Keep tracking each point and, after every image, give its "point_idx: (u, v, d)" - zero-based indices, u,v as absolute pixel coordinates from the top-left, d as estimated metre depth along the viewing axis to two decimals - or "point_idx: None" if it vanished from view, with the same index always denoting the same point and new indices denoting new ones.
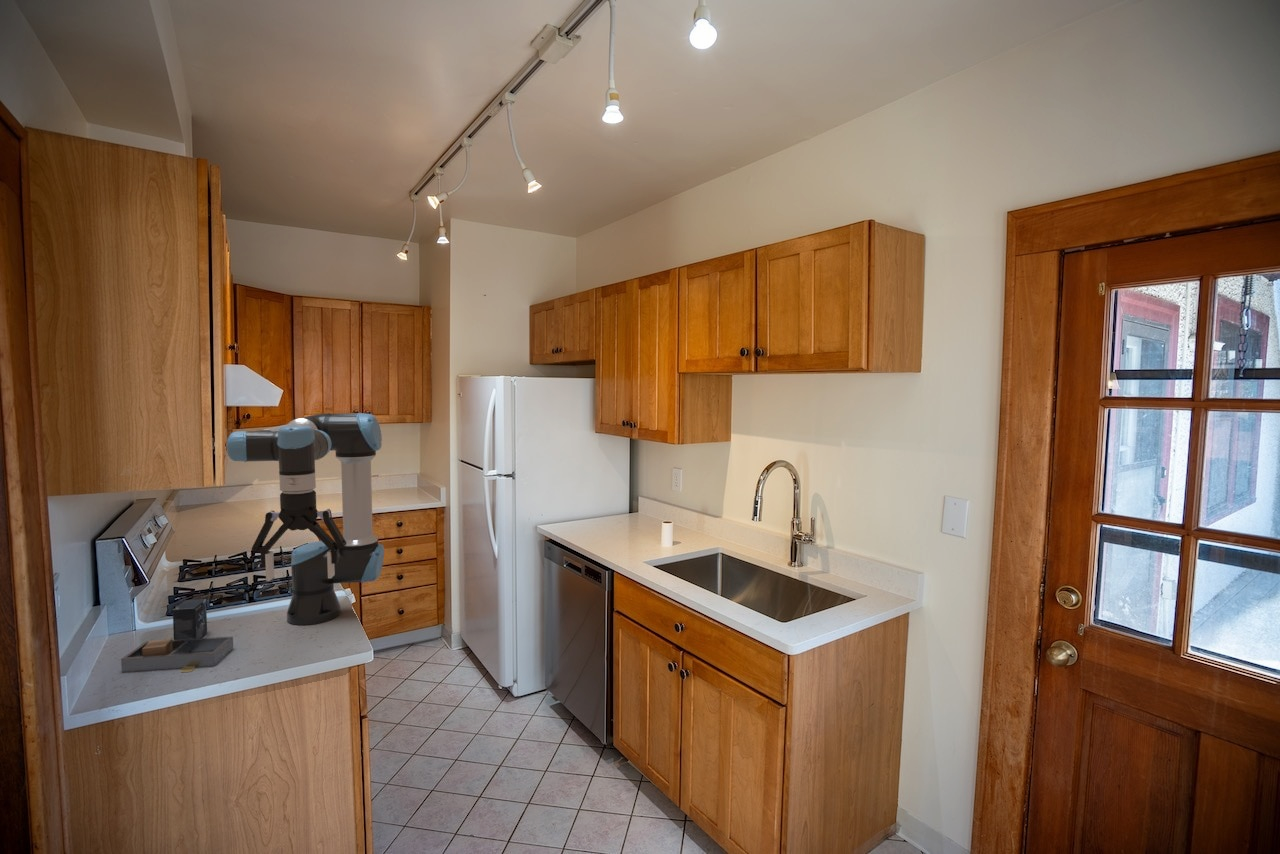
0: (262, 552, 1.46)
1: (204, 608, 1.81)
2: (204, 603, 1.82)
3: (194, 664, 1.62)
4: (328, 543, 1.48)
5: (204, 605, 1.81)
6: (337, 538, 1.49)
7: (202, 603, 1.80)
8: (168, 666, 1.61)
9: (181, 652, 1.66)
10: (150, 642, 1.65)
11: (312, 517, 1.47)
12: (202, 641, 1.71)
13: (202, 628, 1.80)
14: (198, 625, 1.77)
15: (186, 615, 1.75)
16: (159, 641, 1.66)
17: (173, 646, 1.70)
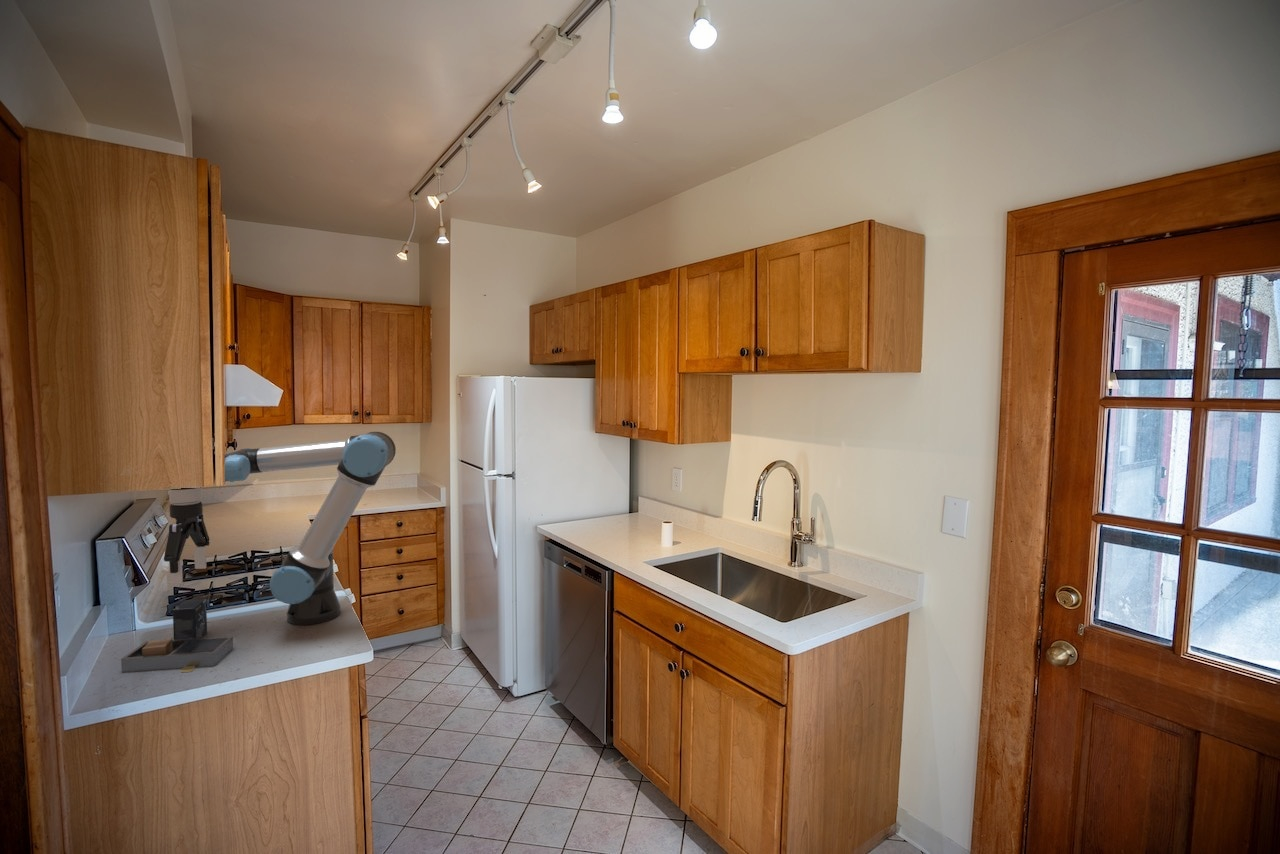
0: None
1: (204, 608, 1.81)
2: (204, 603, 1.82)
3: (194, 664, 1.62)
4: None
5: (204, 605, 1.81)
6: None
7: (202, 603, 1.80)
8: (168, 666, 1.61)
9: (181, 652, 1.66)
10: (150, 642, 1.65)
11: None
12: (202, 641, 1.71)
13: (202, 628, 1.80)
14: (198, 625, 1.77)
15: (186, 615, 1.75)
16: (159, 641, 1.66)
17: (173, 646, 1.70)
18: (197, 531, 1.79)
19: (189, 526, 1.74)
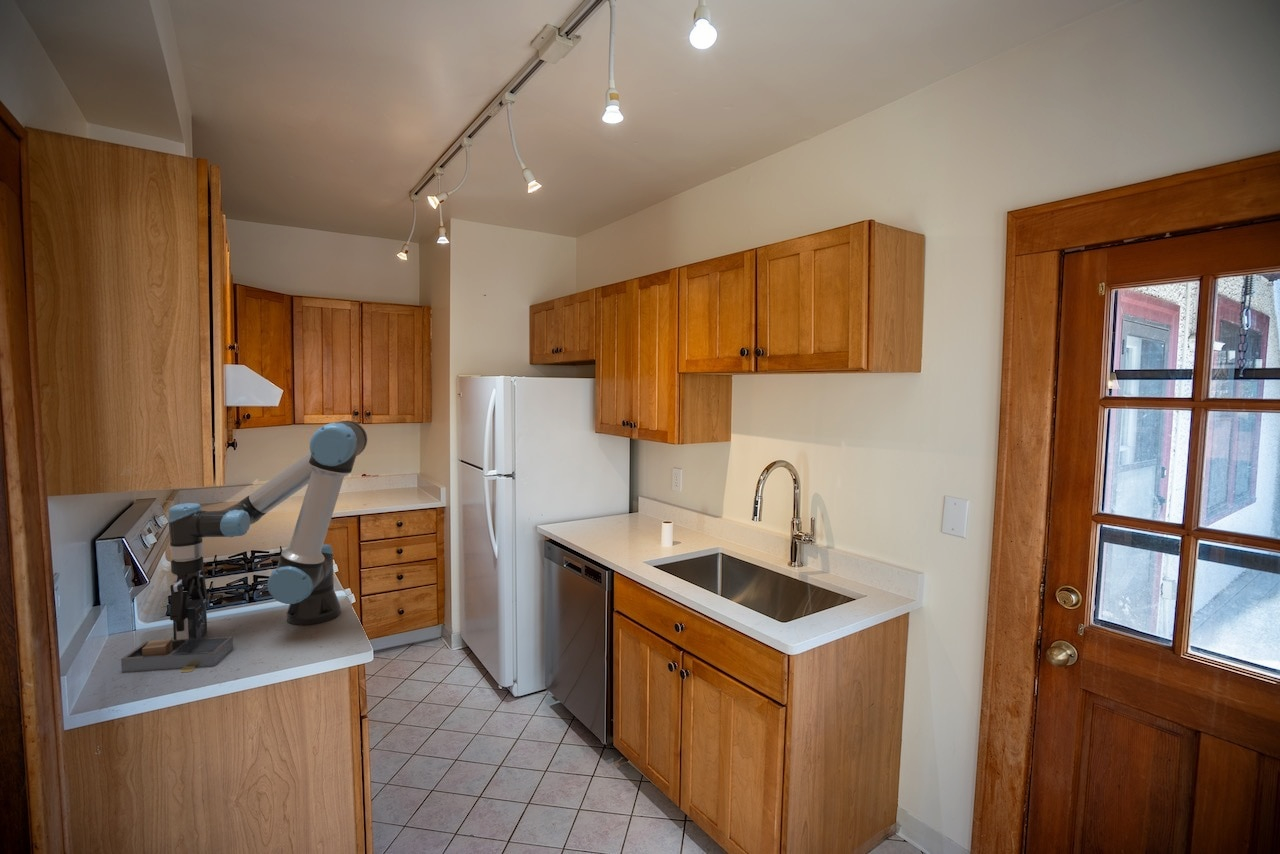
0: None
1: (204, 608, 1.81)
2: (204, 603, 1.81)
3: (194, 664, 1.62)
4: None
5: (204, 605, 1.81)
6: None
7: (202, 603, 1.80)
8: (168, 666, 1.61)
9: (181, 652, 1.66)
10: (150, 642, 1.65)
11: None
12: (202, 641, 1.71)
13: (202, 628, 1.80)
14: (198, 625, 1.77)
15: (186, 615, 1.75)
16: (159, 641, 1.66)
17: (173, 646, 1.70)
18: (197, 587, 1.80)
19: (190, 582, 1.76)
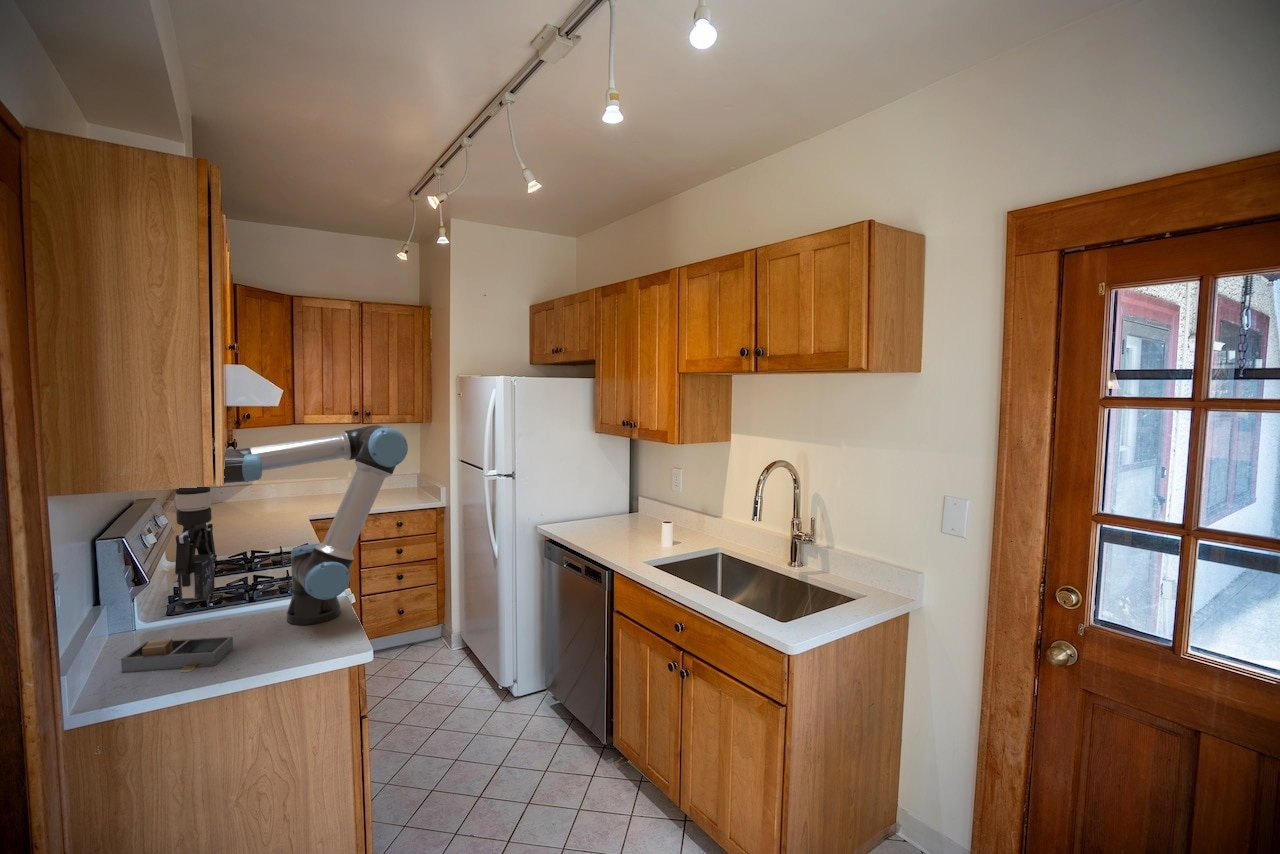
0: None
1: (211, 564, 1.68)
2: (211, 558, 1.68)
3: (194, 664, 1.62)
4: None
5: (211, 560, 1.68)
6: None
7: (209, 558, 1.67)
8: (168, 666, 1.61)
9: (181, 652, 1.66)
10: (150, 642, 1.65)
11: None
12: (202, 641, 1.71)
13: (209, 585, 1.66)
14: (205, 581, 1.64)
15: (192, 569, 1.61)
16: (159, 641, 1.66)
17: (173, 646, 1.70)
18: (204, 540, 1.67)
19: (196, 534, 1.63)
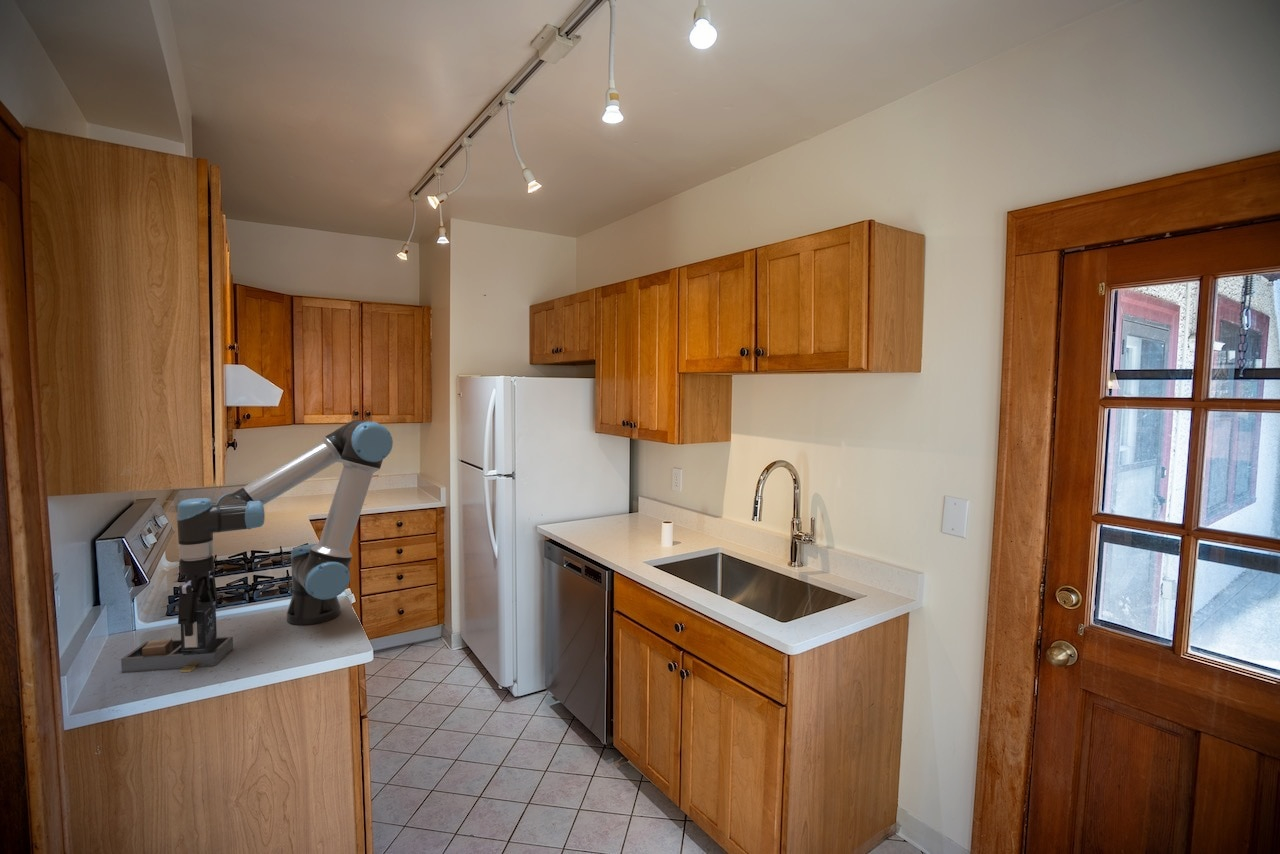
0: None
1: (214, 611, 1.69)
2: (214, 606, 1.69)
3: (194, 664, 1.62)
4: None
5: (213, 608, 1.69)
6: None
7: (212, 606, 1.68)
8: (168, 666, 1.61)
9: (181, 652, 1.66)
10: (150, 642, 1.65)
11: None
12: None
13: (211, 633, 1.68)
14: (207, 629, 1.65)
15: (195, 618, 1.62)
16: (159, 641, 1.66)
17: (173, 646, 1.70)
18: (207, 588, 1.68)
19: (199, 583, 1.64)
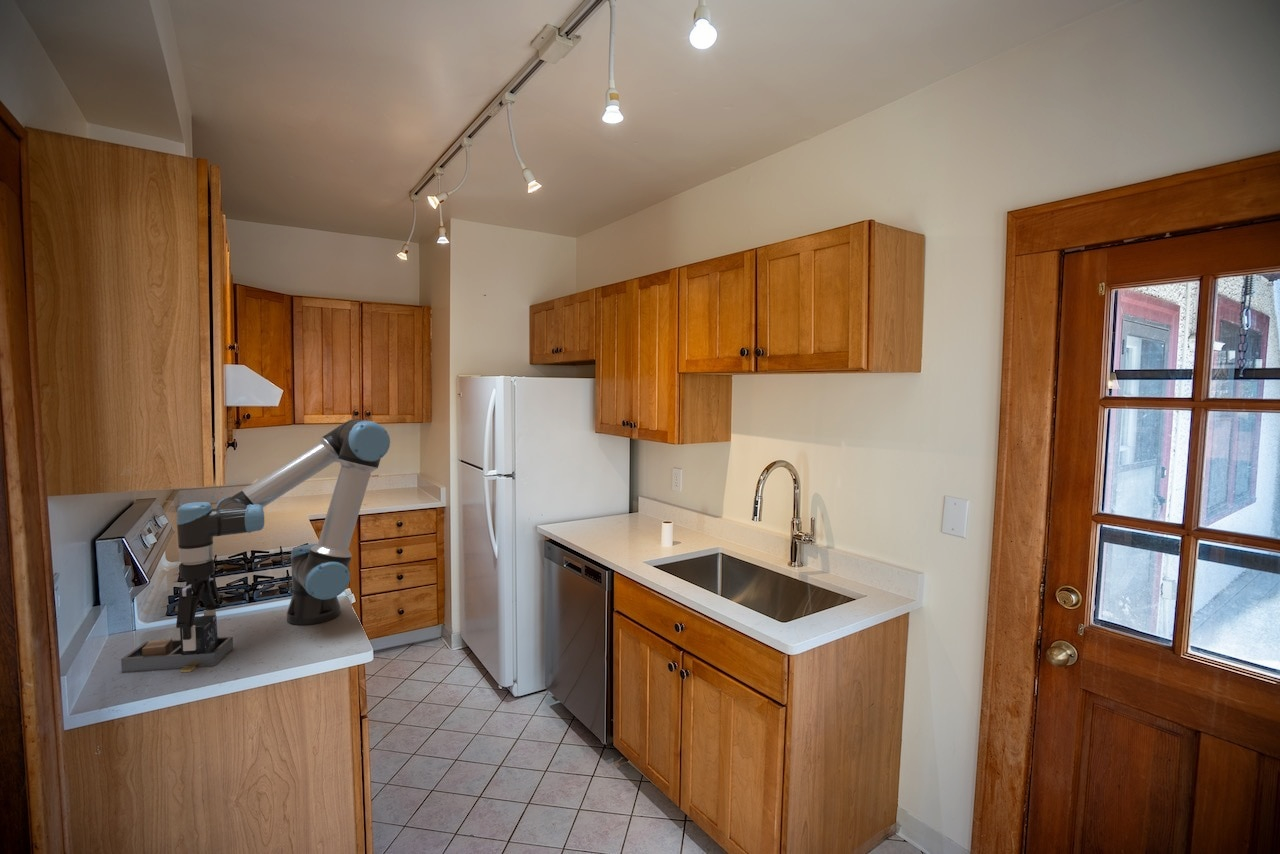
0: None
1: (214, 625, 1.69)
2: (214, 620, 1.69)
3: (194, 664, 1.62)
4: None
5: (214, 622, 1.69)
6: None
7: (212, 620, 1.68)
8: (168, 666, 1.61)
9: None
10: (150, 642, 1.65)
11: None
12: None
13: (212, 647, 1.68)
14: (207, 644, 1.65)
15: None
16: (159, 641, 1.66)
17: (173, 646, 1.70)
18: (208, 591, 1.68)
19: (199, 586, 1.64)
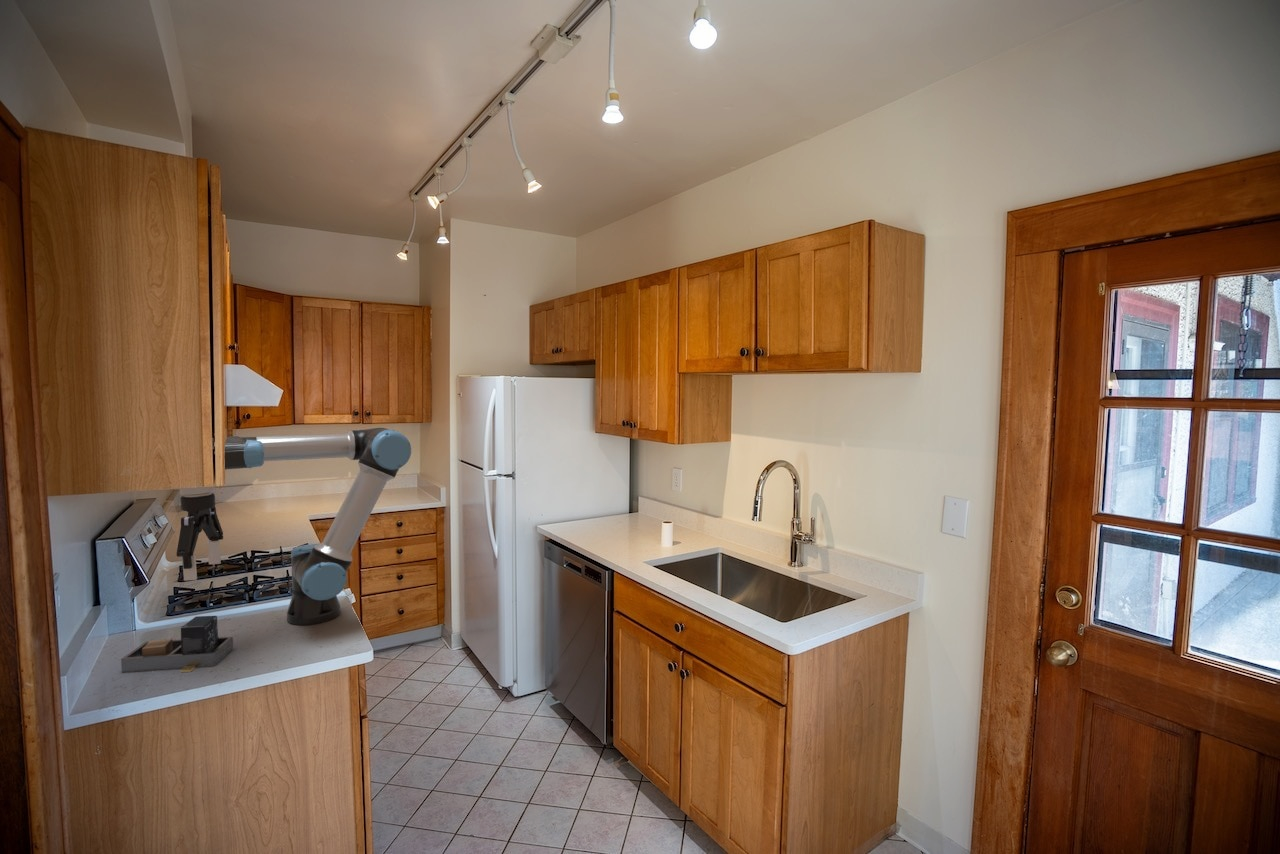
0: None
1: (215, 625, 1.69)
2: (215, 620, 1.69)
3: (194, 664, 1.62)
4: None
5: (214, 622, 1.69)
6: None
7: (213, 620, 1.68)
8: (168, 666, 1.61)
9: (181, 652, 1.66)
10: (150, 642, 1.65)
11: None
12: None
13: (212, 647, 1.68)
14: (207, 644, 1.65)
15: (195, 633, 1.63)
16: (159, 641, 1.66)
17: (173, 646, 1.70)
18: (210, 524, 1.69)
19: (201, 519, 1.64)
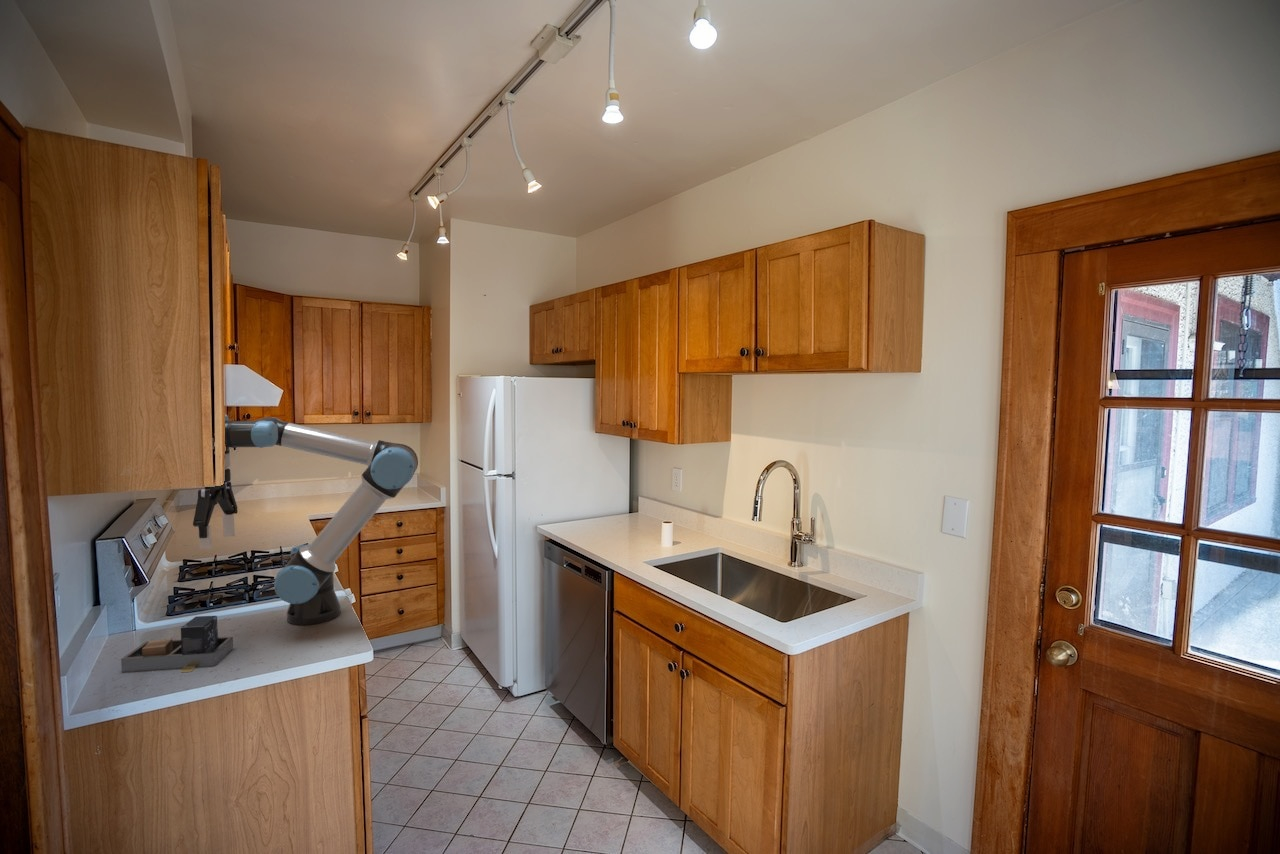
0: None
1: (215, 625, 1.69)
2: (215, 620, 1.69)
3: (194, 664, 1.62)
4: None
5: (214, 622, 1.69)
6: None
7: (213, 620, 1.68)
8: (168, 666, 1.61)
9: (181, 652, 1.66)
10: (150, 642, 1.65)
11: None
12: None
13: (212, 647, 1.68)
14: (207, 644, 1.65)
15: (195, 633, 1.63)
16: (159, 641, 1.66)
17: (173, 646, 1.70)
18: (225, 498, 1.78)
19: (217, 492, 1.73)
